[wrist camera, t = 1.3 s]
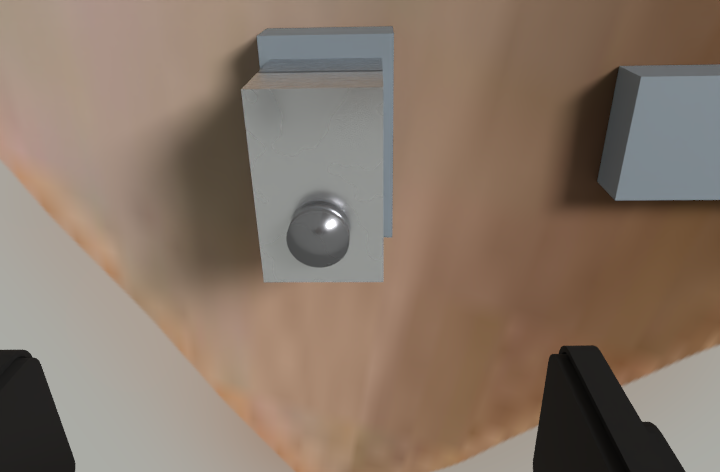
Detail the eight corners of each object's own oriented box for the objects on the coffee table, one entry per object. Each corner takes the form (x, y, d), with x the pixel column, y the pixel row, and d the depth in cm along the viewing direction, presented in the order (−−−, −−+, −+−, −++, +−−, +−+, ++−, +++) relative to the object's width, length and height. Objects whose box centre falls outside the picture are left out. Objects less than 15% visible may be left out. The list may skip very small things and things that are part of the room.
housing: (270, 59, 25) (234, 96, 18) (382, 57, 24) (383, 93, 18) (285, 220, 28) (259, 295, 22) (382, 219, 28) (383, 295, 22)
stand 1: (266, 28, 26) (256, 35, 24) (392, 26, 26) (393, 33, 24) (284, 216, 31) (277, 237, 29) (391, 216, 31) (391, 237, 29)
